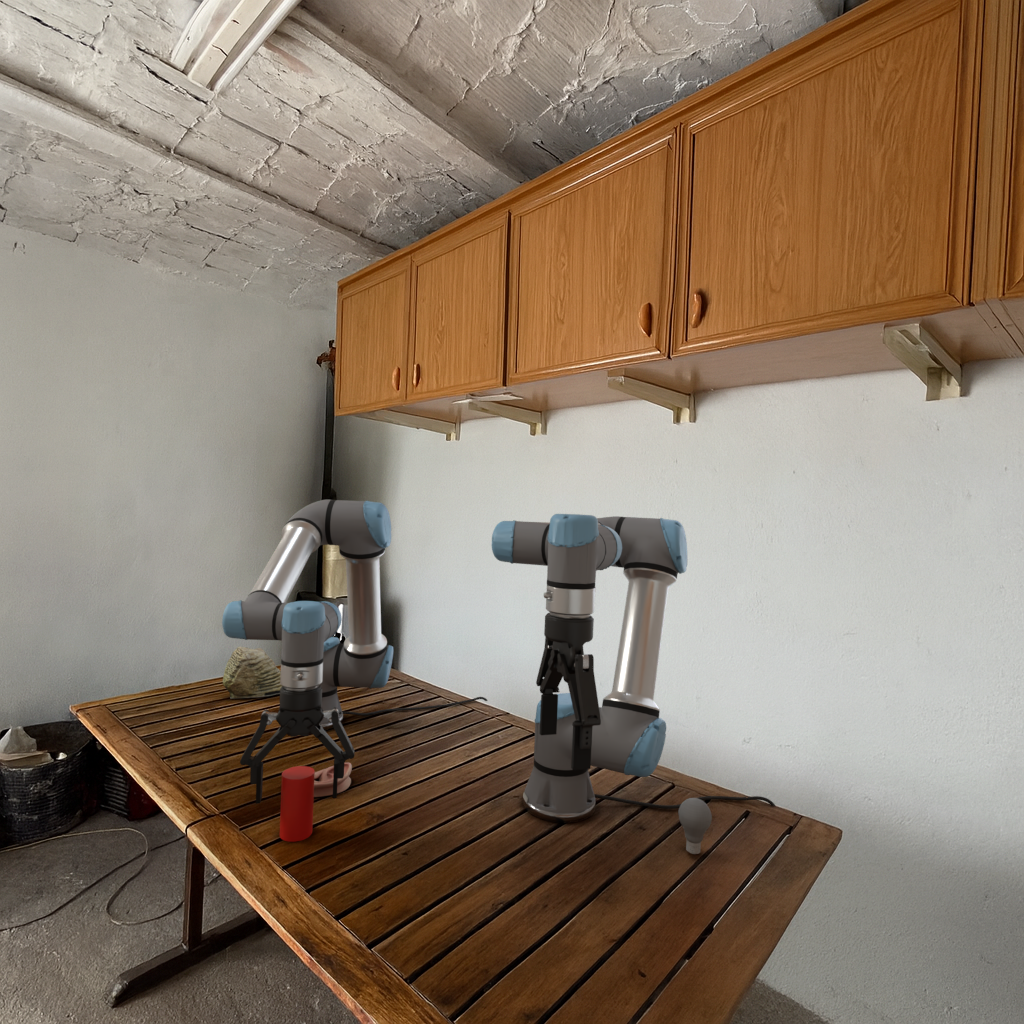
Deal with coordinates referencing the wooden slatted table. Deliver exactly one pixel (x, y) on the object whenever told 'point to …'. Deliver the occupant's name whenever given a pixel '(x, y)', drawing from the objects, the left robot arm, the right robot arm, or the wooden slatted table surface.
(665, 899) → the wooden slatted table surface
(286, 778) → the red cylinder
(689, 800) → the light bulb
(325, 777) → the anatomical model
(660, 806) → the right robot arm
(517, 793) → the wooden slatted table surface
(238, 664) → the fossil
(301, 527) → the left robot arm
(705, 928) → the wooden slatted table surface
